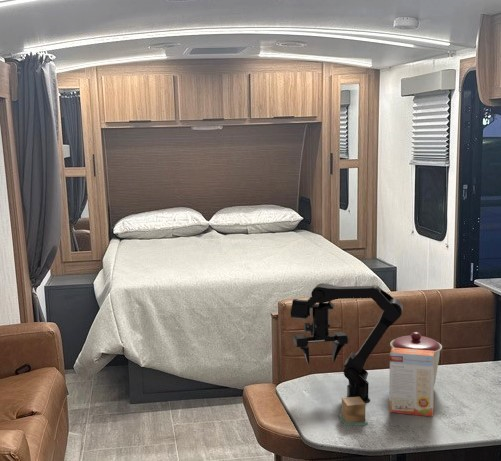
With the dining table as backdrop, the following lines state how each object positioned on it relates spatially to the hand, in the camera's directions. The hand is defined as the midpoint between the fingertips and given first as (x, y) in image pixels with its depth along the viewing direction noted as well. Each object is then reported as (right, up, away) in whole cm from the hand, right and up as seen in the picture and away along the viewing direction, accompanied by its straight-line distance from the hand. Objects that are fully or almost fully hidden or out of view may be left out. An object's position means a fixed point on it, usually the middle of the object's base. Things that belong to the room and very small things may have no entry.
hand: (320, 362), depth 221 cm
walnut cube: (+8, -14, -19) cm, 25 cm away
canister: (+35, -11, +6) cm, 37 cm away
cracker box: (+29, -14, -13) cm, 34 cm away
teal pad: (+8, -15, -19) cm, 25 cm away
